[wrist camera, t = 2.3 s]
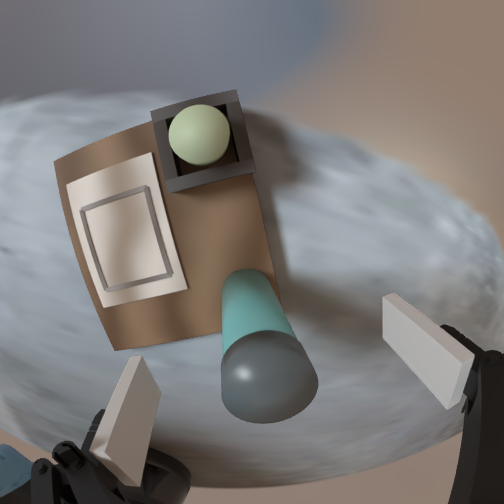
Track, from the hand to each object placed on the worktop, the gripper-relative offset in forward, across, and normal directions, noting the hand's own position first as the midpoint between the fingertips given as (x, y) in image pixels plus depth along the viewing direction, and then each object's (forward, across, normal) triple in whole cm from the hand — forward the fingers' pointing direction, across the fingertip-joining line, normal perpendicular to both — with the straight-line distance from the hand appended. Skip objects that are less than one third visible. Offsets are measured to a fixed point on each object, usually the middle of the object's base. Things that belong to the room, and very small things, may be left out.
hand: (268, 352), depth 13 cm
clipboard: (+10, -6, +6) cm, 13 cm away
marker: (+9, 0, 0) cm, 9 cm away
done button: (+8, -1, +12) cm, 14 cm away
